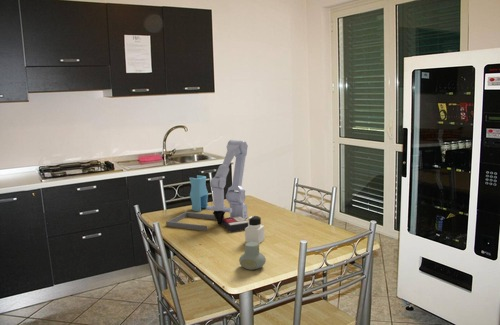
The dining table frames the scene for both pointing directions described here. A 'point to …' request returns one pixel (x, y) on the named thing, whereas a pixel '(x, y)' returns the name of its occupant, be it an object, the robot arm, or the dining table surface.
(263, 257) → the air freshener
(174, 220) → the grey piece
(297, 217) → the dining table surface
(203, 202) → the light blue tall block
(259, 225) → the medicine bottle
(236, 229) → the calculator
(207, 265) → the dining table surface
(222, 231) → the dining table surface
